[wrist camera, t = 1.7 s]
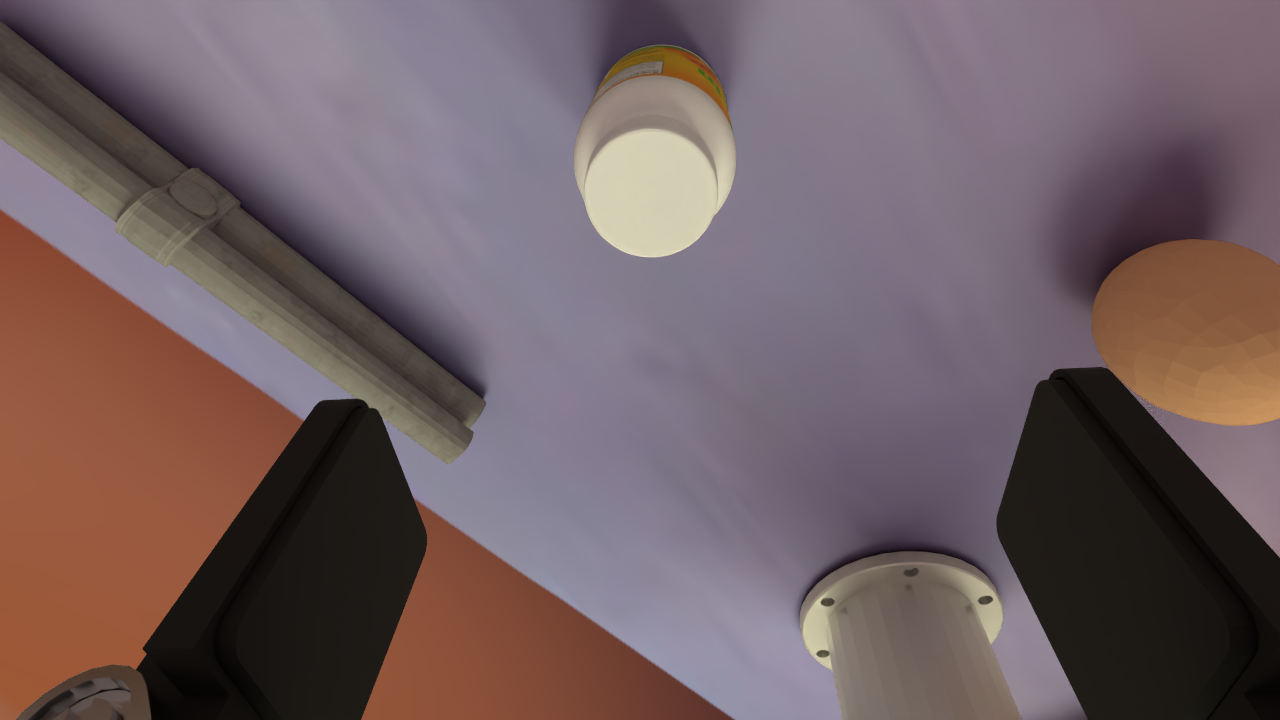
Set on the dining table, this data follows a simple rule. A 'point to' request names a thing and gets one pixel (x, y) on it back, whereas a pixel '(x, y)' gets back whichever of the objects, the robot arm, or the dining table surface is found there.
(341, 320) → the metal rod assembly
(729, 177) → the supplement bottle
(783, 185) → the dining table surface
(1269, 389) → the egg
